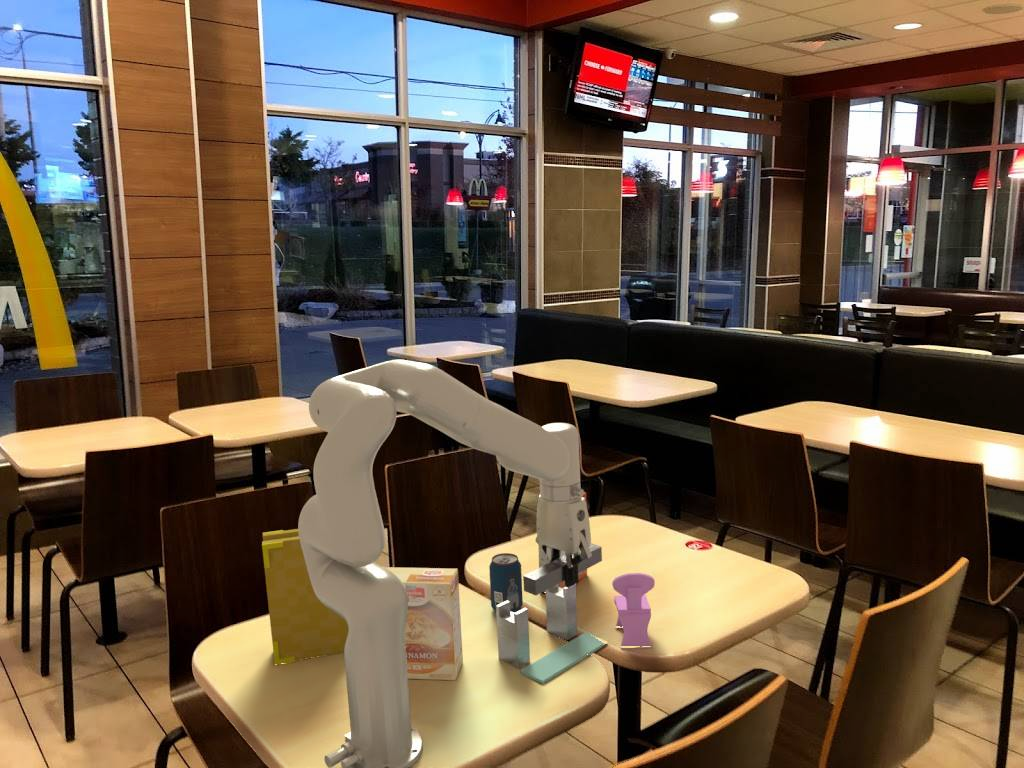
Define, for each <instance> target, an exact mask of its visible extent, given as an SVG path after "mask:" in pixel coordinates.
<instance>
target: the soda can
mask: <svg viewBox="0 0 1024 768" xmlns="http://www.w3.org/2000/svg"><path fill="white" fill-rule="evenodd" d="M522 578H523V574H522V564H521V562H520V560H519V557H518V555H516V554H514V553H508V552H507V553H505V552H504V553H498V554H495V555H494V556H492V558H491V561H490V564H489V590H490V606H491V609H492V610H493V611H494V612H495V614H496V606H497V605H499V604H501V603H503V602H505V601H507V600H508V601H510V611H511V612H514V613H515V612H517V611H519V610H521V609H522V607H523V605H524V603H523V579H522Z"/></svg>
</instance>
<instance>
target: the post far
mask: <svg viewBox="0 0 1024 768" xmlns="http://www.w3.org/2000/svg"><path fill="white" fill-rule="evenodd" d="M545 611H546V631H547V632H548V633H550V634H553V635H555V636H557V637H559V638H562V639H564V640H565V641H569V640H570V639H571V640H572V638H575V637H577V635H578V619H577V617H578V616H577V612H578V611H577V584H575V585H573V586H571V587H569V588H567V587H564V588H560V587H558V584H557V585H555V586H553V587H551V588H550V589H548V590H546V593H545Z"/></svg>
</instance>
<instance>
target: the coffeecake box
mask: <svg viewBox="0 0 1024 768" xmlns="http://www.w3.org/2000/svg"><path fill="white" fill-rule="evenodd" d="M383 567H384V568H386V569H387V570H389V571H391V572H392V573H393V574H395V575H396V576H397V577H398V578H399V579H400V580H401V582H402V583H403V585H404V586H405V588H406V591H407V595H408V610H407V617H406V626H405V647H406V661H407V674H408V680H437V681H438V680H439V681H456V680H457V678H458V675H459V672H460V670H461V668H462V664H463V662H464V658H463V657H464V654H463V639H462V636H463V635H462V620H461V603H460V588H459V587H460V585H459V584H460V583H459V569H458V568H443V567H442V568H440V567H438V568H437V567H436V568H435V567H434V568H433V567H431V568H430V567H395V566H391V567H390V566H387V567H386V566H383Z"/></svg>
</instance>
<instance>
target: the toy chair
mask: <svg viewBox="0 0 1024 768" xmlns="http://www.w3.org/2000/svg"><path fill="white" fill-rule="evenodd" d="M655 583H656V582H655V578H654V577H653V576H651V575H649V574H646V573H643V572H632V573H630V572H629V573H625V574H624V573H623V574H620V575H618V576H617V577H614V579H613V580H612V583H611V585H612V588H613V590H614V591H615V592H616V593H618V595H614V596H613V597H614V600H613V601H614V604H615V606H616V610H617V615H618V617H617V620H616V624H615V626H620V627H622V626H623V629H622V630H623V638H622V641H621V643H620V646H640V647H642V646H652V647H653V645H652V643H651V640H650V638H649V633H648V628H649V624H650V620H651V617H652V612H651V611H652V609H651V608H652V607H651V605H650V604H649V601H648V598H647V595H646V594H647V593H648V592H650V591H652V590H653V589H654V588H655Z"/></svg>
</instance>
